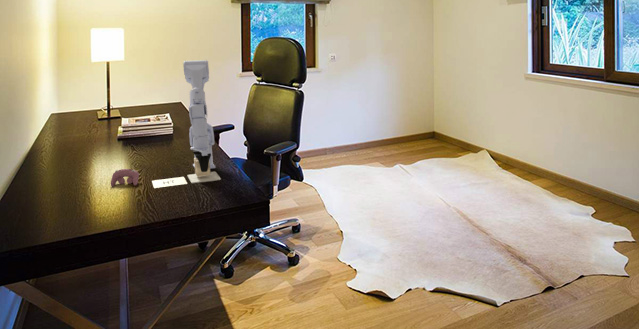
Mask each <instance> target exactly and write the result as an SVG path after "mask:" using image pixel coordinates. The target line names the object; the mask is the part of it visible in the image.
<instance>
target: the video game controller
mask: <svg viewBox="0 0 639 329" xmlns="http://www.w3.org/2000/svg"><path fill="white" fill-rule="evenodd" d="M125 177H127V178H126V179H125ZM139 177H140V173H139V172H138V171H137V170H135V169H132V168H121V169H117V170H115V171H114V172H113V173H112V175H111V180H110V186H111V187H112V188H113V187H114V186H116V184H117V182H118V183H119V184H120V185H123V184H125V183H126V182H127V183H128V184H129V185H131V184H133V186H137V185H138V183H139Z"/></svg>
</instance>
